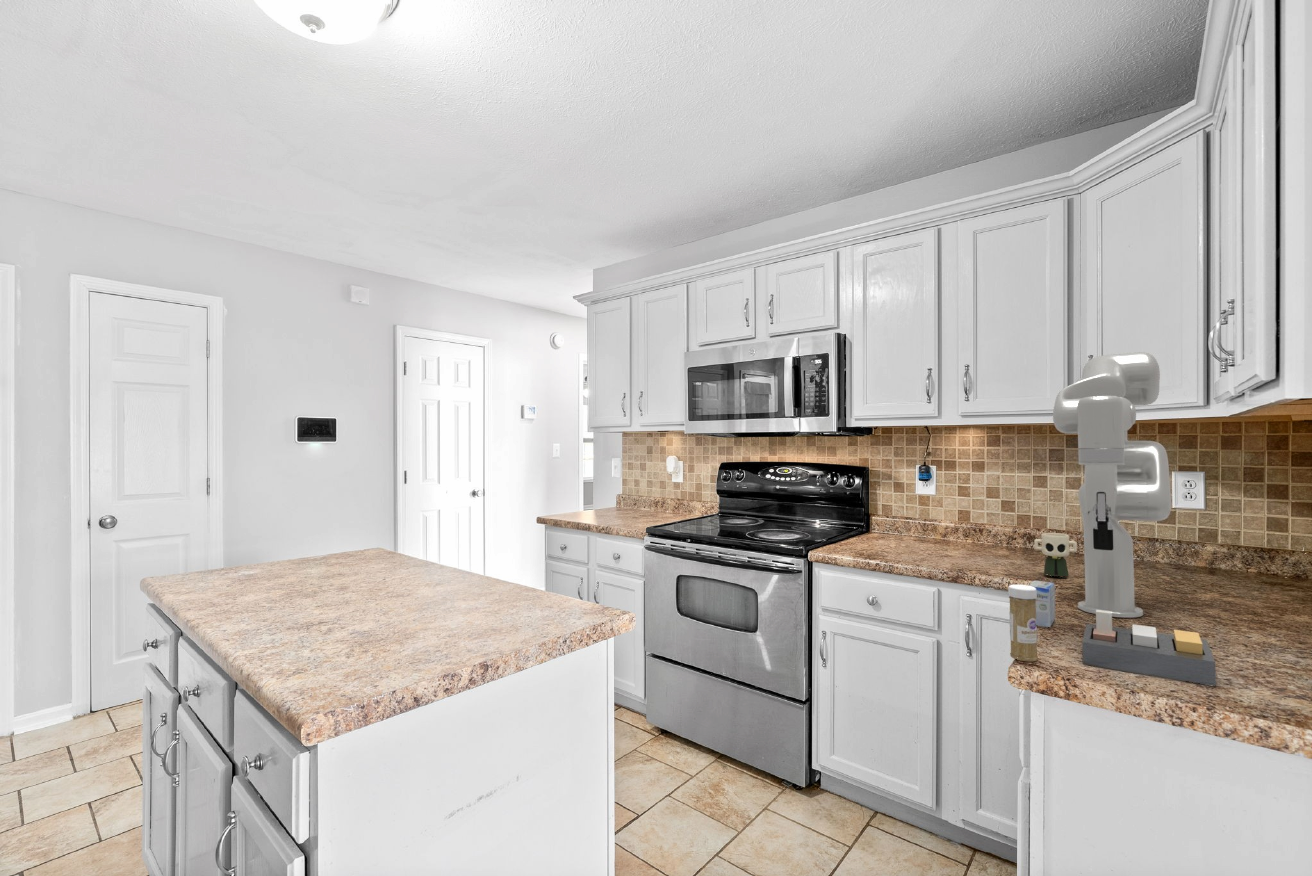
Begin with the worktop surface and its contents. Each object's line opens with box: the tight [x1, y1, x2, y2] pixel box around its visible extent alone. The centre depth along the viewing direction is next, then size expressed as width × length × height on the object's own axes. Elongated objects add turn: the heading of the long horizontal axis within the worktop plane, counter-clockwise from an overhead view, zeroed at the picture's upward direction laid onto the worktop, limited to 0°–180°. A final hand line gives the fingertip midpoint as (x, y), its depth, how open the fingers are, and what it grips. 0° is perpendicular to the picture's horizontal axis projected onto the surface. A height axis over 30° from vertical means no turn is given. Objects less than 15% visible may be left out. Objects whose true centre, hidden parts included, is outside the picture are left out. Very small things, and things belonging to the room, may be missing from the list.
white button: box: [1132, 624, 1157, 648], centre depth 113 cm, size 8×3×2 cm, turn 143°
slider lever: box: [1093, 610, 1116, 642], centre depth 118 cm, size 4×3×5 cm
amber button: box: [1173, 629, 1203, 655], centre depth 109 cm, size 8×3×2 cm, turn 143°
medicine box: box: [1028, 580, 1056, 628], centre depth 140 cm, size 8×4×9 cm, turn 141°
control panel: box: [1082, 623, 1217, 687], centre depth 113 cm, size 15×18×4 cm
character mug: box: [1033, 532, 1078, 577], centre depth 189 cm, size 11×7×13 cm, turn 57°
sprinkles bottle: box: [1007, 584, 1039, 663], centre depth 116 cm, size 5×5×14 cm
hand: (1103, 549), depth 124 cm, fingers closed
